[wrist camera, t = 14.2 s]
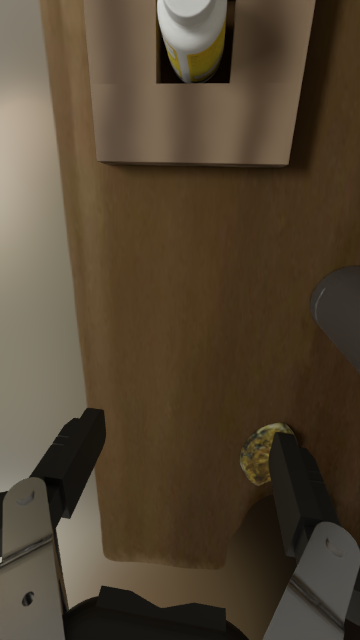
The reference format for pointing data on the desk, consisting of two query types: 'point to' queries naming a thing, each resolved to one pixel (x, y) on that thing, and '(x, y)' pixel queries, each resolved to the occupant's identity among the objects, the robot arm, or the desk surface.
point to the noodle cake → (260, 452)
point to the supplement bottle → (193, 36)
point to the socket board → (196, 88)
